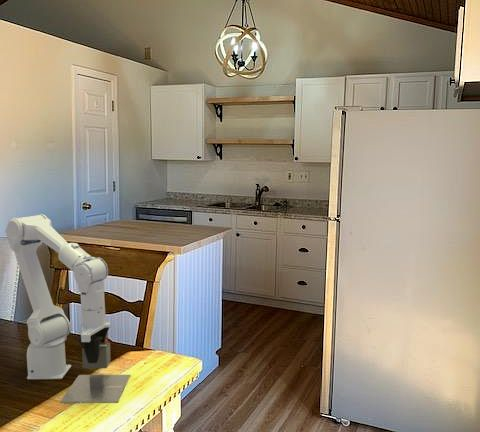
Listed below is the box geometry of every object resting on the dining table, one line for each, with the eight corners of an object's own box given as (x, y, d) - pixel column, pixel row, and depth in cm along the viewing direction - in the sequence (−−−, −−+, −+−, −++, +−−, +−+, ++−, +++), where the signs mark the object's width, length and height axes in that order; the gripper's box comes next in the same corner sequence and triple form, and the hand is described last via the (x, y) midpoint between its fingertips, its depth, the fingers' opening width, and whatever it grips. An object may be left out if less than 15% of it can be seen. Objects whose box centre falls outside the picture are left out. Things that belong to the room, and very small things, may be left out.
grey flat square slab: (60, 402, 120) (59, 389, 120) (79, 376, 134) (78, 364, 134) (117, 402, 120) (116, 389, 120) (130, 376, 134) (129, 364, 134)
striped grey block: (82, 368, 124) (81, 348, 123) (87, 360, 128) (86, 341, 127) (106, 368, 124) (106, 348, 123) (110, 360, 128) (109, 341, 128)
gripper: (100, 316, 117) (103, 370, 119) (116, 298, 131) (118, 346, 133) (71, 317, 117) (74, 371, 119) (89, 298, 131) (92, 346, 133)
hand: (95, 358), depth 126 cm, fingers closed on striped grey block, 4 cm apart
